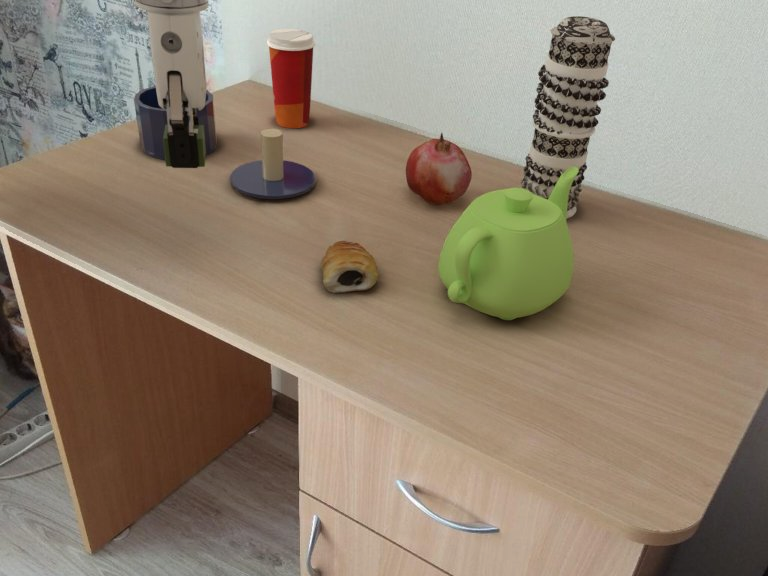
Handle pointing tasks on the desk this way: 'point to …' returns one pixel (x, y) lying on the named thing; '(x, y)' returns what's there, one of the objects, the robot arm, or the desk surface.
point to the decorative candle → (567, 105)
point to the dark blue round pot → (155, 120)
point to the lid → (272, 172)
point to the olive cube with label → (200, 141)
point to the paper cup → (291, 75)
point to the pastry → (348, 268)
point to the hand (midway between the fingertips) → (186, 156)
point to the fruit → (438, 171)
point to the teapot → (510, 251)
